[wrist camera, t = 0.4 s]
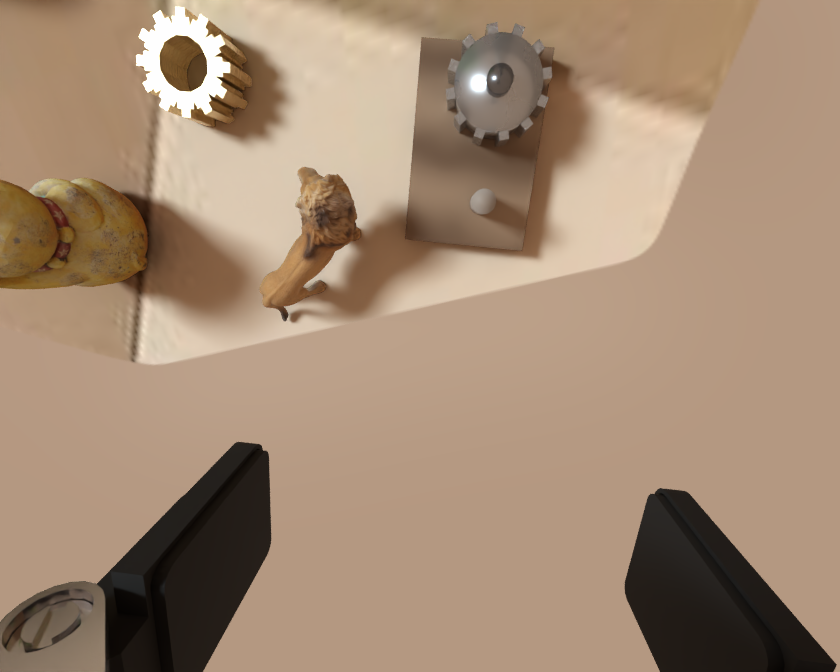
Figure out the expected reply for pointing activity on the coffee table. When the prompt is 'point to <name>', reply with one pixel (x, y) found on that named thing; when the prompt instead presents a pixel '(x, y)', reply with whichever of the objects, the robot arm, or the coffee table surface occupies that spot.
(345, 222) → the lion figurine
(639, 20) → the coffee table surface
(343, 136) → the coffee table surface
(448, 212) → the gear board
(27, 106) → the coffee table surface
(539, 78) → the grey gear
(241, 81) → the brass gear
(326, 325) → the coffee table surface
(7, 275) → the decorative figurine
